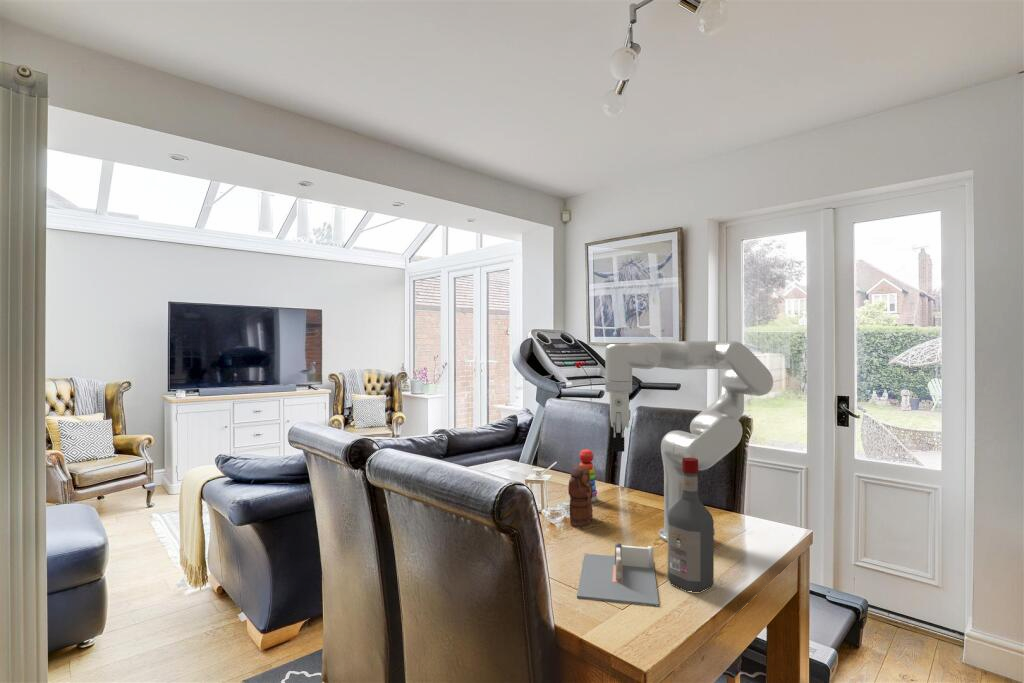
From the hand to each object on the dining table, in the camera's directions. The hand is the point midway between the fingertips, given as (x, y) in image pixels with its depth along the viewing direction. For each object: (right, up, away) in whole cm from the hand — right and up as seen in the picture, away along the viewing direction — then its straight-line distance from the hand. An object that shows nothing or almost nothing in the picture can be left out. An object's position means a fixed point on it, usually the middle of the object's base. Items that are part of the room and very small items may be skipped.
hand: (618, 450), depth 148 cm
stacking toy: (-3, -27, +43) cm, 51 cm away
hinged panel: (-4, -26, -19) cm, 33 cm away
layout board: (-4, -27, -20) cm, 34 cm away
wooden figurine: (-8, -27, +20) cm, 35 cm away
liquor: (+13, -27, -23) cm, 38 cm away
